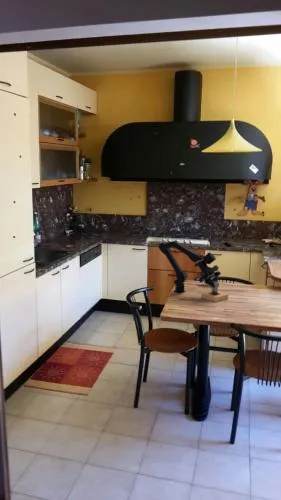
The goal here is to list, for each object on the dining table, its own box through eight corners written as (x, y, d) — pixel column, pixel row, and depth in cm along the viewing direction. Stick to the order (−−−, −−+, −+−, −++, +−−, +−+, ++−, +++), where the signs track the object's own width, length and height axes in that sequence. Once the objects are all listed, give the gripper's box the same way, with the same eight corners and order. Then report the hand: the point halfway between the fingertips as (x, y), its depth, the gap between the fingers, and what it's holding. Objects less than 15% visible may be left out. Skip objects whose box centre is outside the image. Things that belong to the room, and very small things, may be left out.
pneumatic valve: (215, 286, 307) (216, 271, 305) (200, 285, 310) (200, 270, 308) (216, 284, 313) (216, 269, 310) (200, 283, 315) (201, 268, 313)
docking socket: (201, 297, 280) (201, 293, 279) (214, 294, 287) (214, 290, 287) (215, 302, 270) (215, 297, 269) (228, 298, 277) (228, 294, 277)
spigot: (210, 295, 279) (211, 281, 277) (214, 294, 281) (215, 280, 279) (214, 296, 275) (215, 282, 274) (218, 295, 278) (219, 281, 276)
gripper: (202, 263, 270) (215, 282, 265) (219, 259, 283) (231, 278, 277) (193, 272, 278) (205, 291, 272) (210, 268, 290) (221, 286, 284)
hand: (216, 286), depth 276 cm, fingers closed on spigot, 4 cm apart
